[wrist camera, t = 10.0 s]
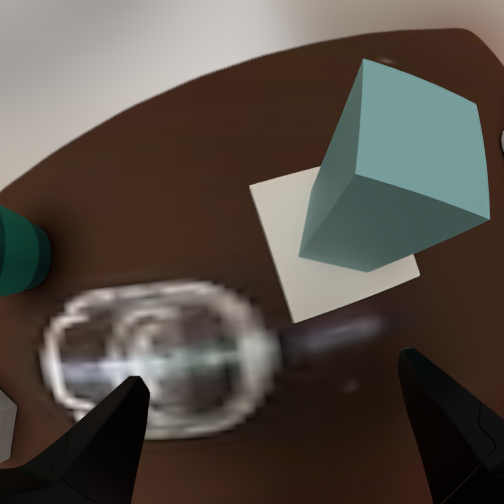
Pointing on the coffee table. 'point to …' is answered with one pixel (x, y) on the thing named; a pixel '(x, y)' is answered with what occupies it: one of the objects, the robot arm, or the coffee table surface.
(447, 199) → the teal block
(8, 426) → the small box
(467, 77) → the coffee table surface
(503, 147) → the water bottle
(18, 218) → the cup
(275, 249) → the cream tile
